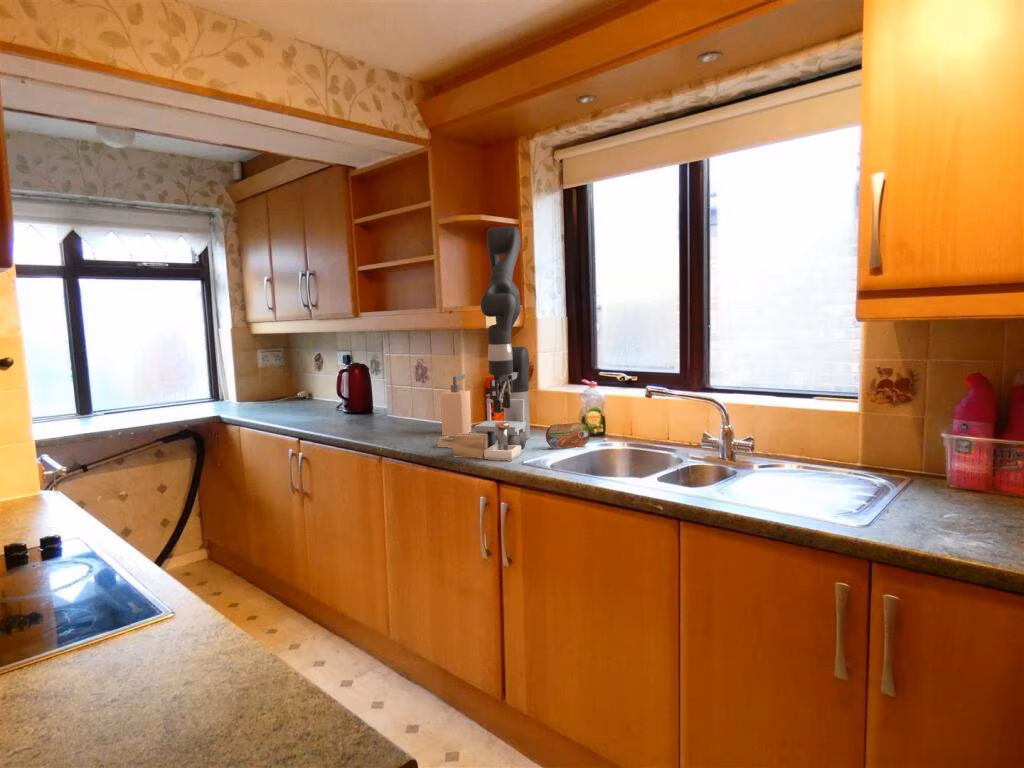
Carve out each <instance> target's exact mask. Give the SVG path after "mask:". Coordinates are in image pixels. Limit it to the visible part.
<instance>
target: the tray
mask: <svg viewBox="0 0 1024 768" xmlns="http://www.w3.org/2000/svg"><path fill="white" fill-rule="evenodd" d="M484 456H485V457H484V460H485V459H488V460H487V461H499V460H510V461H509V462H513V461H514V460H516V459H518V458H519V457H520V456H522V449H521V446H518V445H508V451H505V450H498V444H495V445H493V446H491V447H489V448H487V449H486V450H484ZM515 458H516V459H515ZM512 460H513V461H512Z"/></svg>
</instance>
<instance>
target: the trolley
mask: <svg viewBox="0 0 1024 768" xmlns="http://www.w3.org/2000/svg"><path fill="white" fill-rule="evenodd" d="M500 401H501V403H503V398H501V400H500ZM491 403H493V400H492V399H490V398H487V399H486V414H487V420H485V421H483V422H480V423H479V424H476V425H474V431H475V432H476V434H487V445H488V447H491V446H493V445H496V439H497V438H496V433H498V428H497V427H495V423H499V422H508V423H509V427H507V432H508V435H509V436H508V439H507V440H508V445H518V446H521V450H524V449H525V447H526V443H527V439H526V434H525V432H524V431H525V427H526V422H524V399H510V403H520V415H521V421H504V420H492V408H491V407H492V406H491V405H492V404H491Z"/></svg>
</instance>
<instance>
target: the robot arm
mask: <svg viewBox="0 0 1024 768" xmlns="http://www.w3.org/2000/svg"><path fill="white" fill-rule="evenodd" d="M486 243H487V250H488V257H489V266H490V271H491V272H490V277H489V283H488V286H487V288H486V290H485V292H484V293H483V295H482V298H481V300H480V310H481V312H482V314H483V315H484V316H485V317H488V318H491V317H495V324H491V325H489V326H488V328H487V338H488V339H487V340H488V341H487V343H488V346H487V347H488V348H487V349H488V350H487V361H488V374H489V375H492V376H493V379H489V399H492V400H493V402H492V403H493V413H495V414H499V413H502V406H503V421H521V415H520V403H510V399H524V422H526V427H525V431H524V432H525V434H526V440H527V439H530V438H531V432H530V431H531V430H530V429H531V428H530V427H531V426H530V422H531V421H530V396H529V395H530V391H529V387H530V386H529V383H530V382H529V378H530V377H529V375H530V374H529V373H530V370H529V367H530V356H529V355H530V354H529V350H528V348H527V347H525V346H512V329H513V327H514V325H515V323H516V321H518V318H519V316H520V313H521V310H522V309H521V308H522V307H521V297H520V296H521V295H520V291H519V289H518V287H517V285H516V283H515V282H514V281H513V277H514V276H513V275H514V270H515V266H516V264H517V260H518V256H519V253H520V251H521V235H520V230H519V228H518V227H517V226H515V225H509V226H508V225H507V226H496V227H490V228H488V229H487V233H486ZM503 255H504V256H503ZM500 256H502V258H500ZM513 373H518V374H517V375H518V376H517V377H515V378H514V379H513V375H512V374H513ZM501 399H503V402H501V401H500V400H501ZM508 436H509V435H508V432H507V440H508Z"/></svg>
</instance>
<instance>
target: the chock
mask: <svg viewBox="0 0 1024 768" xmlns="http://www.w3.org/2000/svg"><path fill="white" fill-rule="evenodd" d="M487 448H488V445H487V434H477V433H474V432H473V433H472V432H470V433H457V434H455V435H453V448H452V449H453V451H452V452H453V457H454V456H462V457H461V458H466V457H481V458H480V459H484V458H485V456H484V450H486V449H487ZM483 457H484V458H483Z"/></svg>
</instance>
